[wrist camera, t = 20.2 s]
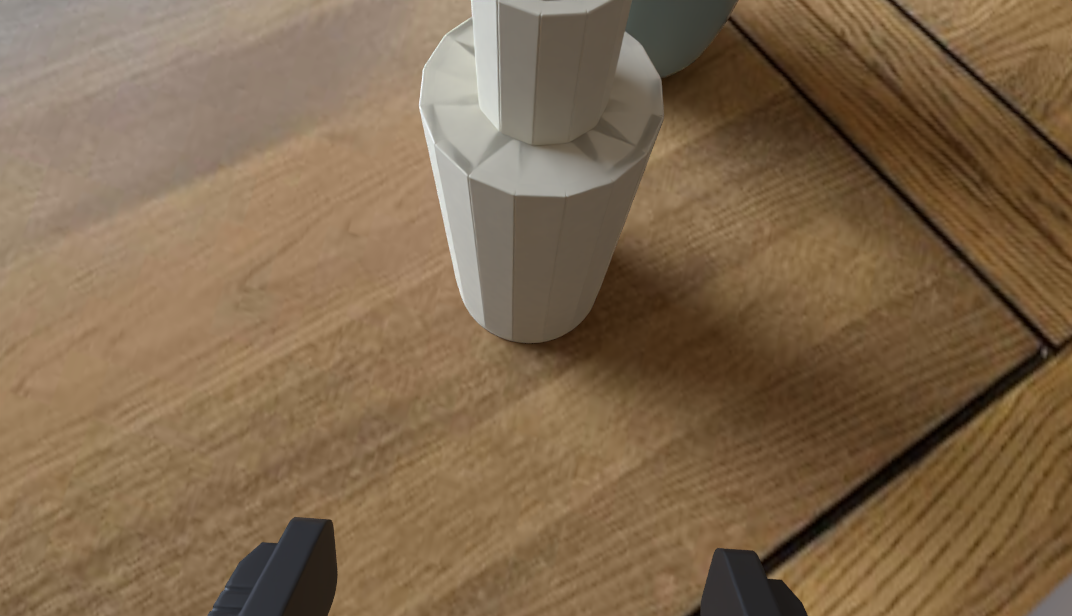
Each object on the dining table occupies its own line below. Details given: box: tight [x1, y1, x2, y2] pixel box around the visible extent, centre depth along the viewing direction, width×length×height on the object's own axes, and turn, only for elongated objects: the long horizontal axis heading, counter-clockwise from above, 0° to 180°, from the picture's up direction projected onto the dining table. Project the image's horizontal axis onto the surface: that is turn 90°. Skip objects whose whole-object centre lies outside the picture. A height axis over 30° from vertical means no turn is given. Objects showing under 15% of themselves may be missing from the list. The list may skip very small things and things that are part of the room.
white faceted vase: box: [419, 0, 664, 343], centre depth 19 cm, size 6×6×16 cm
